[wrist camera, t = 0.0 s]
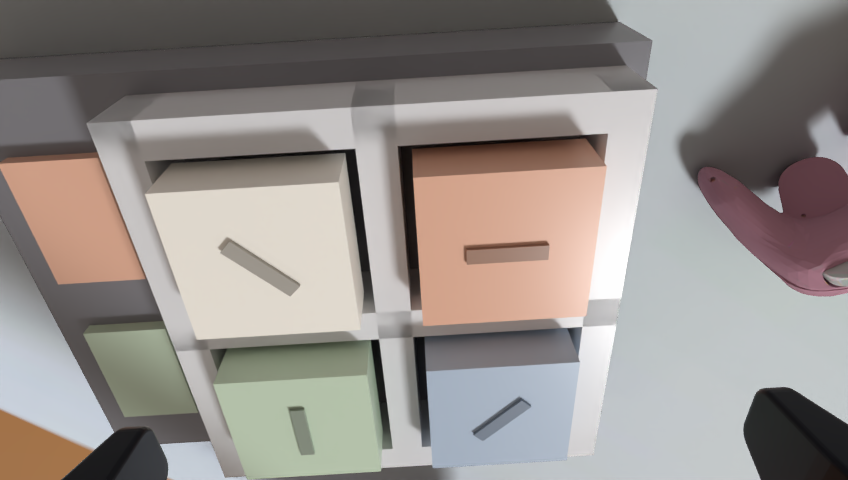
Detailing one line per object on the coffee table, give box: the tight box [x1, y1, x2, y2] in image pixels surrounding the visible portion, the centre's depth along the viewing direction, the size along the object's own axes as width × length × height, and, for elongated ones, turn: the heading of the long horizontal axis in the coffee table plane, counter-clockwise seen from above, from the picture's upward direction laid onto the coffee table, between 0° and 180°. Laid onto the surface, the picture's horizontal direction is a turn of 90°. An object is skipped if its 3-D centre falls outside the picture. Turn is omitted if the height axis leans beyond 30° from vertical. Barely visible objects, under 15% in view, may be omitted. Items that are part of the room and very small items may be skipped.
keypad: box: [0, 22, 658, 478], centre depth 21 cm, size 17×22×6 cm
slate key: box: [424, 328, 580, 468], centre depth 21 cm, size 5×5×2 cm
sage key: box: [213, 340, 383, 479], centre depth 21 cm, size 5×5×2 cm
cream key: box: [145, 153, 364, 340], centre depth 17 cm, size 5×5×2 cm
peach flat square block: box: [412, 138, 607, 326], centre depth 17 cm, size 5×5×2 cm
